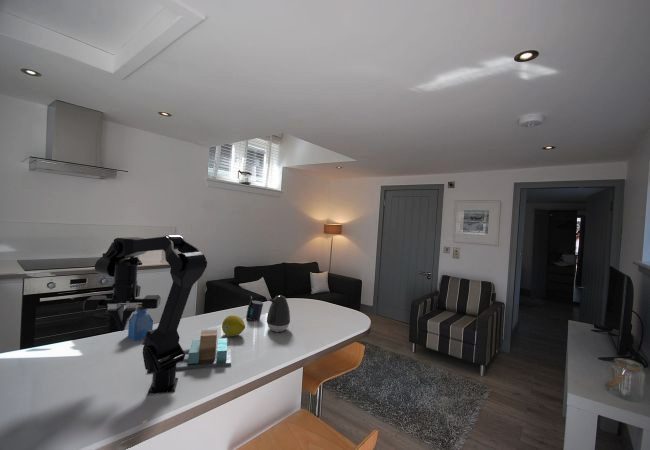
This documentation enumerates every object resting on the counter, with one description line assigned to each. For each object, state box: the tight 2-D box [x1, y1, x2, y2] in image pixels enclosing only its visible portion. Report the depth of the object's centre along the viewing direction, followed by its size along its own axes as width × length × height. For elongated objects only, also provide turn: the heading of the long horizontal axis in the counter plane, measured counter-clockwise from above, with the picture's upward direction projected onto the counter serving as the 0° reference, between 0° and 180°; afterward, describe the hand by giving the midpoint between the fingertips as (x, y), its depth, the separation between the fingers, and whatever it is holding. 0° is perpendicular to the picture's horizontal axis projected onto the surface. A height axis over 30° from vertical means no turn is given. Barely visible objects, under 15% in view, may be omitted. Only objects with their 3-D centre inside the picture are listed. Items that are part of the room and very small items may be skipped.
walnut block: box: [199, 329, 218, 360], centre depth 100 cm, size 5×5×8 cm
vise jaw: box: [161, 339, 200, 364], centre depth 98 cm, size 11×10×4 cm
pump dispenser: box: [266, 294, 291, 333], centre depth 131 cm, size 10×10×15 cm
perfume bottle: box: [127, 305, 154, 342], centre depth 114 cm, size 6×6×12 cm
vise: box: [147, 337, 232, 374], centre depth 99 cm, size 24×12×5 cm, turn 108°
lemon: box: [221, 314, 246, 337], centre depth 121 cm, size 11×8×8 cm
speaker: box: [245, 296, 264, 322], centre depth 141 cm, size 8×6×10 cm
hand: (122, 330), depth 89 cm, fingers closed
